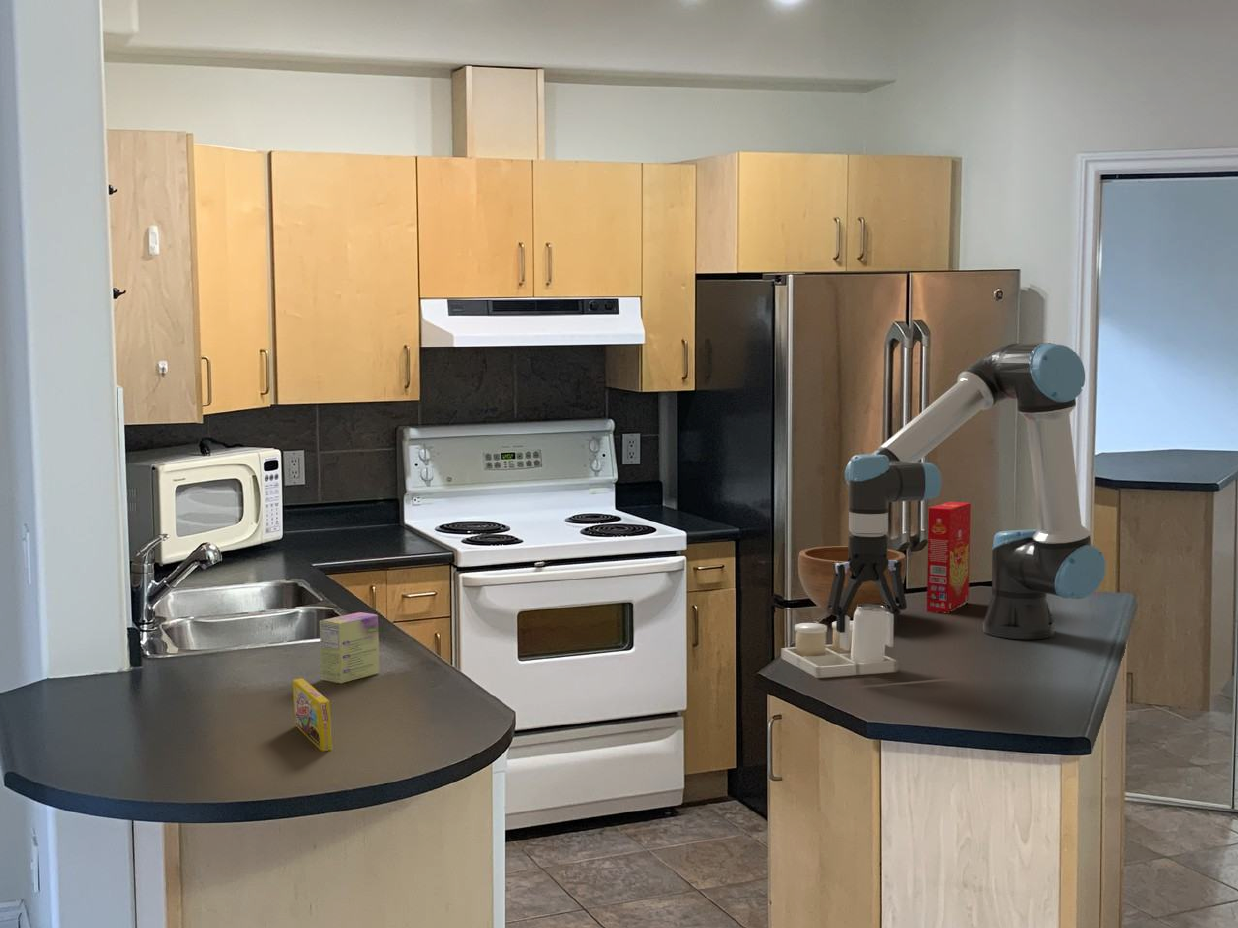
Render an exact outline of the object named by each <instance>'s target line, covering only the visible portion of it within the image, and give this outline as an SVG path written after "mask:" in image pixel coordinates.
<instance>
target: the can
mask: <svg viewBox="0 0 1238 928" xmlns="http://www.w3.org/2000/svg"><path fill="white" fill-rule="evenodd" d="M886 610H887V607H886V608H885V607H882V606H878V605H871V604H860V605H857V609H856V611H855V613H854V619H853V620H852V621H853V634H852V647H851V660H852V661H854V662H856V663H871V662H883V661H884V655H885V653H886V651H885V650H886V645H885V641H886V627H887V614H886V612H887V611H886Z"/></svg>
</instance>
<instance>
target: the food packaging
mask: <svg viewBox="0 0 1238 928" xmlns="http://www.w3.org/2000/svg"><path fill="white" fill-rule="evenodd" d="M971 505H972V504H971V502H961V501H960V502H958V501H948V502H944V503H941V504H938V505H933V506H930V507H928V520H927V521H928V523H927V524H928V527H927V531H928V532H927V533H928V535H927V537H928V538H927V573H926V574H927V579H926V580H927V583H926V586H927V587H926V612H928V611H938V612H946V613H948V612H950V611H951V610H953V609H955V608H957V607H958V606H960V605H961V604H963V603H964V602H966V601H968V600H969V599H970V598H969V595H970V593H969V592H970V589H969V588H970V557H971V556H970V555H971V549H970V548H971V511H972V510H971V509H972V507H971ZM946 613H945V614H946ZM948 614H949V613H948Z"/></svg>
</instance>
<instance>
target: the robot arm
mask: <svg viewBox="0 0 1238 928" xmlns="http://www.w3.org/2000/svg"><path fill="white" fill-rule="evenodd" d="M956 380H957V382H956V383H955V384H954V385H953V386H952V387H950V388H949V389H947V391H945V392H944V393H943V394H941V396H939V397H938V398H937V399H935V400H934V401H933V402H932V403H931V404H930V405H928V406H927V407H926V408H925V409H924V410H923V411H921V412H920V413H919V414H917V415H916V416H915V417H914V418H913V419H911V420H910V422H908V423H906V425H905V426H903V427H902V428H900V429H899V430H898V431H897V432H895V433H894V434H893V436H891V437H890V438H889V439H887V440H886V441H885V442H883V444H882V445H880V446H879V447H878V448H876V449H875V450H874V451H873V452H872V453H869V454H868V453H867V454H856V455H854V456H852V457H851V459H850V461H849V462H848V463H847V465H846V466H845V471H844V478H845V482H846V484H847V485H848V487H849V488H848V490H849V492H848V493H849V494H848V495H849V496H848V497H849V498H848V499H849V503H848V505H849V506H848V507H849V508H848V509H849V511H848V531H849V532H850V534H849V535H848V546H849V558H848V560H847V562H844V563H834V578H833V583H832V588H831V592H830V597H829V602H828V607H827V611H828V612H830V613H833V614H835V615H836V616H835V617H836V619H835V621H836V630H837V632H840V648H843V649H845V650H849V644H850V621H851V619H850V617H848V616H846V614H847V612H848V610H849V607H850V605H851V603H852V601H853V599H854V596H855V594H856V592H857V590H858V588H859V586H861V584H862V582H866V581H869V580H871V581H874V582H875V583H876V585H877V587H878V589H879V592H880V594H881V596H882V598H883V601H884V603H885V605H886V610H887V611H885V612H886V614H887V627H886V641H885V646H887V647H889V648H892V647H894V630H897V627H898V615H899V614H900V613H901V611H902V610H906V609H907V607H908V606H907V601H906V594H905V589H904V583H902V578H901V566H902V563H901V562H900V561H897V560H894V559H892V560H888V558H887V549H888V543H889V542H888V538H889V536H888V535H886V534H887V533H888V531H889V503H894V502H895V503H896V502H897V503H898V502H914V501H915V502H916V501H919V502H923V501H927V500H932V499H935V498H936V497H937V496H938V495H939V493H940V492H941V489H942V473H941V472H940V470H939V467H938V466H937V465H936V464H934V463H932V462H924V461H923V462H922V461H920V460H922V459H923V458H924V457H925V456H926V455H928V454H929V453H930V452H931V451H932V450H934V449H935V448H936V447H938V446H939V445H940V444H941V443H942V442H944V440H946V439H947V438H948V437H949V436H950V435H952V434H953V433H954V432H956V431H957V430H958V429H959V428H961V427H962V426H963V425H964V424H965V423H966V422H967V421H969V420H971V418H973V416H975V415H976V414H977V413H978V412H980V410H982V411H983V410H984V411H985V410H989V409H991V408H992V407H993V406H994V405H995V404H997V403H999V402H1002V401H1004V400H1009V399H1016V405H1017V406H1016V407H1017V413H1019V414H1020V415H1021V416H1023V417H1024V418H1025V419H1026V426H1027V427H1026V428H1027V433H1028V443H1029V452H1030V461H1031V470H1032V476H1033V477H1032V478H1033V487H1034V488H1033V489H1034V496H1035V503H1036V512H1037V520H1038V521H1037V522H1038V523H1037V524H1038V529H1036V528H1034V529H1016V530H1015V529H1012V530H1011V529H1010V530H1003V531H1002V530H1001V531H998V532H997V533H995V534H994V537H993V543H992V545H993V546H992V547H991V550H992V554H991V555H992V556H991V557H992V558H991V559H992V560H991V562H992V566H991V567H992V568H991V570H992V571H991V572H992V573H991V574H992V575H991V597H990V598H991V599H990V602H989V604H988V605H987V606H988V607H987V609H986V612H985V616H984V617H983V620H982V621H983V622H982V623H983V624H982V631H983V633H985V634H987V635H990V636H993V637H998V638H1004V639H1010V640H1011V639H1013V640H1040V639H1041V640H1042V639H1048V638H1051V637H1053V636H1054V635H1055V623H1054V621H1053V617H1052V613H1051V611H1050V608H1049V603H1048V601H1047V600H1048V599H1047V594H1050V595H1053V596H1056V597H1057V596H1058V597H1060V598H1063V599H1072V600H1081V599H1082V600H1083V599H1085V598H1087V597H1090V596H1091V595H1093V594H1094V592H1096V591H1097V590H1098V588H1099V586H1100V585H1101V584H1102V582H1103V580H1104V577H1105V575H1106V559H1105V556H1104V554H1103V552H1102V551H1100V549H1099V548H1097V547H1096V546H1094V545H1092V539H1091V532H1090V529H1087V528H1086V527H1085V526H1084V525H1083V524H1082V516H1081V507H1080V498H1079V488H1078V482H1077V471H1076V462H1075V453H1074V445H1073V434H1072V428H1071V427H1072V426H1071V425H1072V424H1071V417H1070V415H1071V413H1072V411H1073V410H1074V409H1075V408H1076V407H1077V402H1076V401H1077V400H1076V399H1077V398H1078V397H1079V396H1080V394H1081V393H1082V391H1083V389H1082V388H1083V387H1084V386H1085V383H1086V370H1085V365H1084V363H1083V361H1082V359H1081V357H1080V356H1079V355H1078V353H1077V352H1076V351H1074V350H1073V349H1072V348H1071V347H1069V346H1066V345H1063V344H1056V343H1050V342H1048V343H1047V342H1045V343H1041V342H1040V343H1009V344H1005V345H1003V346H1000V347H997V348H995V349H992V351H990V352H988V353H986V354H985V355H984V356H982V357H981V358H979V359H978V360H976V361H975V362H973V363H972V364H970V366H968V367H967V368H965V370H963V371H962V372H960V374H959V375H958V376H957V379H956ZM887 566H888V569H889V572H890V578H891V584H892V589H893V595H894V598H893V596H892V594H891V591H890V589H889V587H888V585H887V580H886V578H885V576H884V573H883V572H884V571H885V569H886V568H887ZM848 568H849V569H850V571H851V575H850V577H849V579H848V584H847V586H846V589H845V591H844V593H843V595H842V590H843V586H844V581H845V574H846V573H847V569H848ZM841 595H842V597H841Z"/></svg>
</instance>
